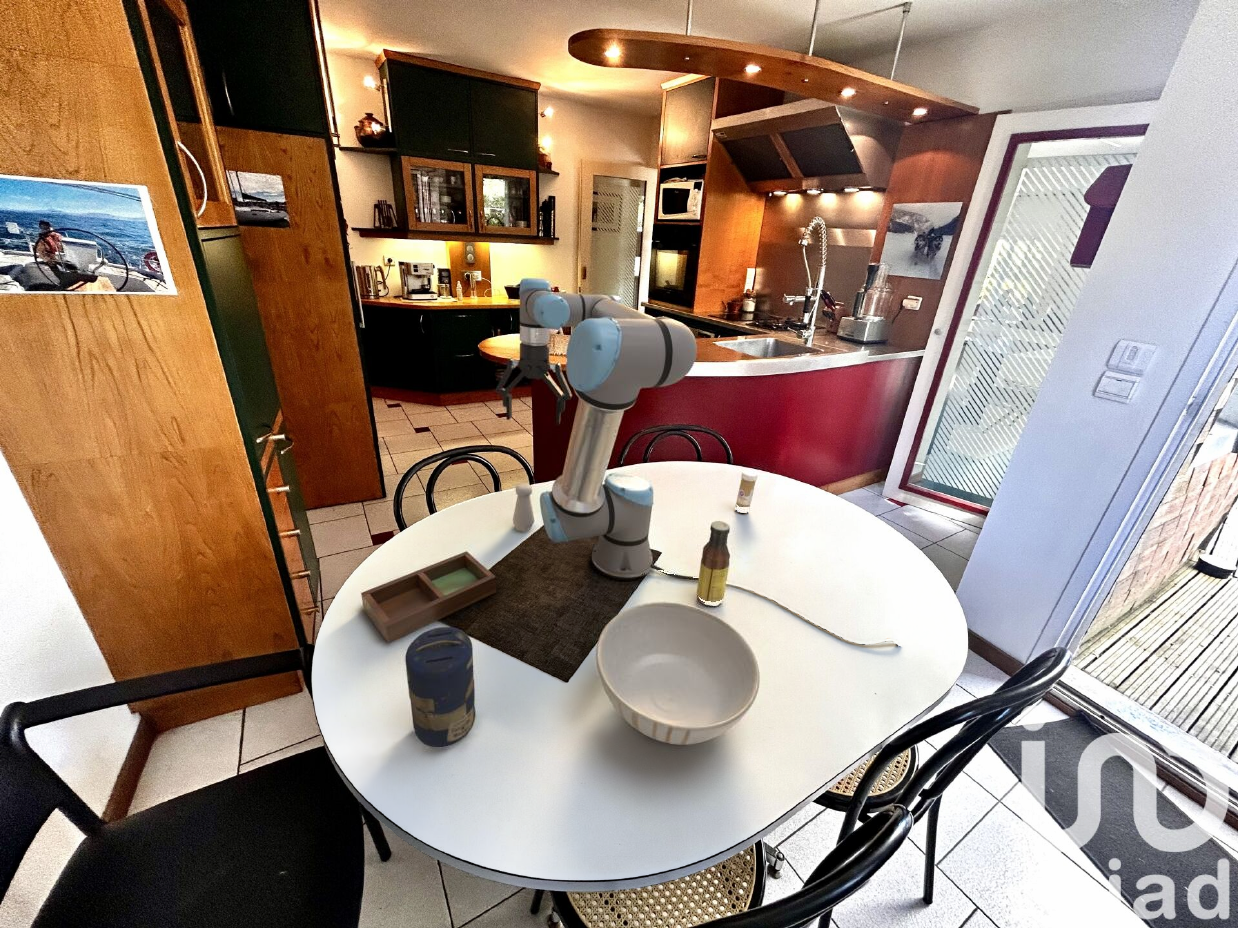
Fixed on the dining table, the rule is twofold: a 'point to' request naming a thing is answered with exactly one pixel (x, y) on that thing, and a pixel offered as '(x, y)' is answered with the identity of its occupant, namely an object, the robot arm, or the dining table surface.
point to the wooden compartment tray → (427, 595)
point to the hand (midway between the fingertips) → (533, 420)
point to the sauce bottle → (714, 564)
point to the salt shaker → (523, 508)
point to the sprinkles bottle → (746, 488)
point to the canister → (441, 686)
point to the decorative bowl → (676, 671)
